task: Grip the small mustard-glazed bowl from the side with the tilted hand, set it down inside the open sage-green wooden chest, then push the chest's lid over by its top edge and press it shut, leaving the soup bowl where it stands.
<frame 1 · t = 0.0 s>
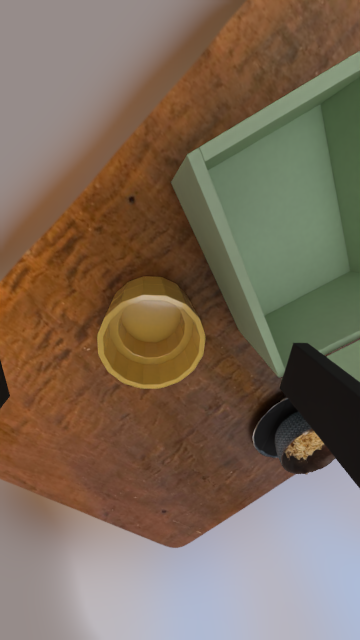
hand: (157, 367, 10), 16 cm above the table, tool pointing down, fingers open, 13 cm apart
chest: (272, 232, 25), on the table
bowl: (151, 314, 27), on the table
soup bowl: (294, 418, 38), on the table
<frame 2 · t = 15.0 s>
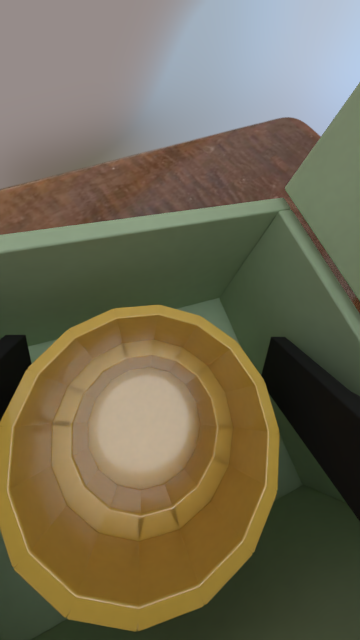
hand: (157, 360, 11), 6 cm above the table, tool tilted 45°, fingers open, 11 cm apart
chest: (143, 421, 15), on the table
bowl: (145, 422, 15), point 1 cm above the table, touching chest
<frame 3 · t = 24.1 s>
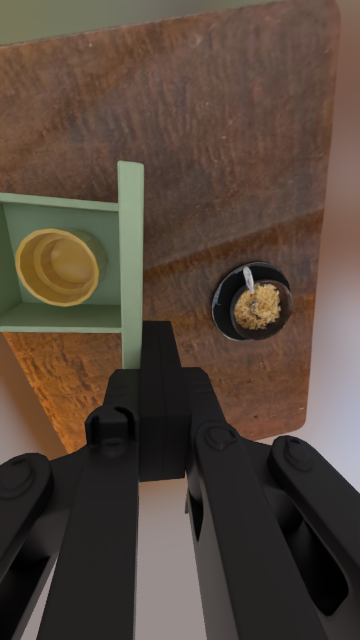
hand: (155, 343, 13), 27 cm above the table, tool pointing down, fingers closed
chest: (76, 259, 35), on the table
chest lid: (133, 302, 19), point 20 cm above the table, hinge at 92.7°, touching gripper
bowl: (75, 260, 35), point 1 cm above the table, touching chest
soup bowl: (248, 299, 42), on the table
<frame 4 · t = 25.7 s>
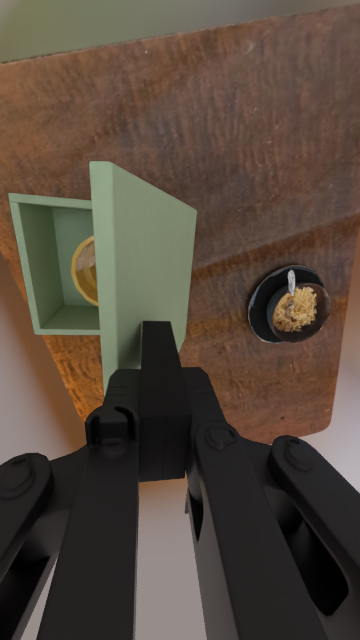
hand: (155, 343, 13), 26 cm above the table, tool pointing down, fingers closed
chest: (118, 262, 36), on the table
chest lid: (166, 304, 19), point 19 cm above the table, hinge at 70.6°, touching gripper
bowl: (118, 263, 35), point 1 cm above the table, touching chest
soup bowl: (282, 301, 42), on the table
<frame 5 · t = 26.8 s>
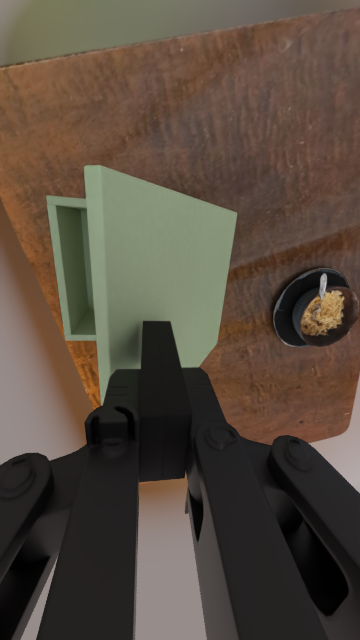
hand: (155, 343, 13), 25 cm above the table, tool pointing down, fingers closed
chest: (144, 265, 35), on the table
chest lid: (188, 306, 19), point 18 cm above the table, hinge at 55.7°, touching gripper
soup bowl: (307, 304, 42), on the table
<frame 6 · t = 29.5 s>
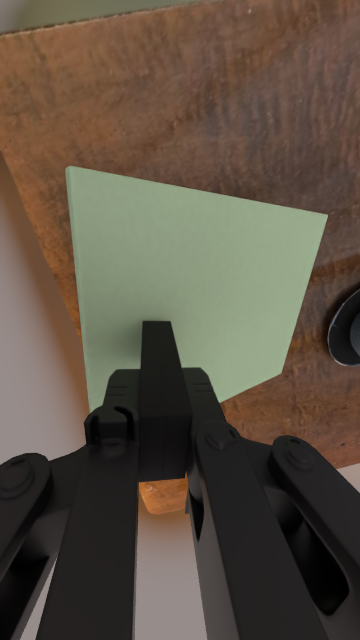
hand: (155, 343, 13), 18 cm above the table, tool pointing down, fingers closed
chest lid: (224, 319, 17), point 14 cm above the table, hinge at 26.0°, touching gripper
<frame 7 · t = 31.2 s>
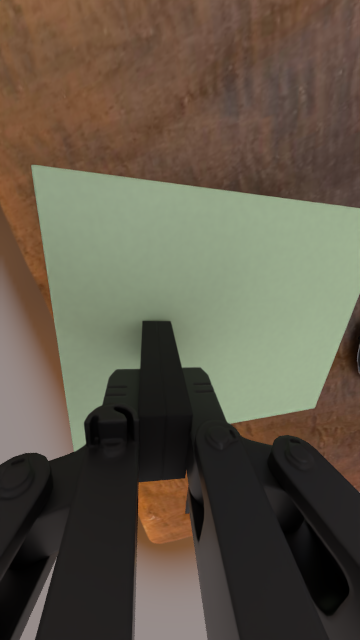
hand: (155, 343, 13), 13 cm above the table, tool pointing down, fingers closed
chest lid: (226, 332, 15), point 12 cm above the table, hinge at 8.0°, touching gripper
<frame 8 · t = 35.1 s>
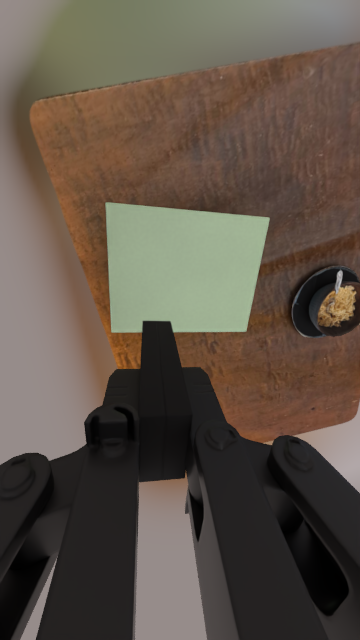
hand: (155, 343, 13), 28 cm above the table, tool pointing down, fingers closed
chest lid: (186, 276, 29), point 11 cm above the table, hinge at 2.0°
soup bowl: (321, 299, 46), on the table
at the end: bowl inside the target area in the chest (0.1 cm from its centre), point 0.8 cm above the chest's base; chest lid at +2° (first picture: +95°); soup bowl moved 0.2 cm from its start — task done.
